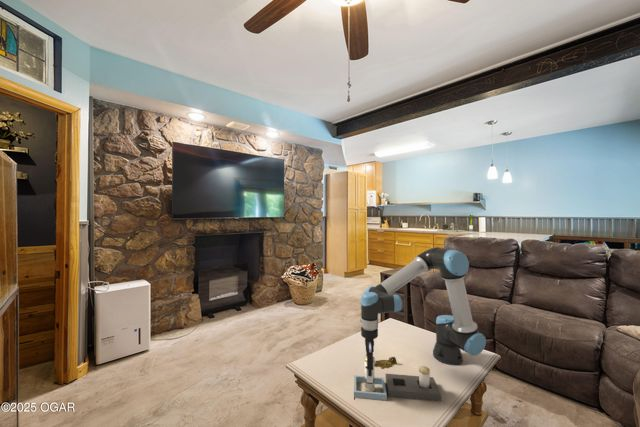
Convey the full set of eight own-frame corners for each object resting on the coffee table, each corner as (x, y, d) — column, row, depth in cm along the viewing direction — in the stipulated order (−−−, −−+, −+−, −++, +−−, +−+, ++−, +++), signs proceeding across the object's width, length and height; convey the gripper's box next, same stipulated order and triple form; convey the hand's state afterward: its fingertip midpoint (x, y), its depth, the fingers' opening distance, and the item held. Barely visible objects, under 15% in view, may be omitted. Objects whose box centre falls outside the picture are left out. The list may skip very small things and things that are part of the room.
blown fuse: (374, 385, 122) (374, 355, 123) (375, 392, 118) (374, 361, 118) (364, 385, 123) (364, 354, 123) (364, 391, 119) (364, 360, 119)
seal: (376, 376, 135) (401, 370, 139) (376, 367, 134) (402, 361, 139) (367, 364, 143) (391, 359, 148) (367, 356, 143) (391, 351, 148)
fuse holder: (433, 385, 125) (433, 377, 125) (441, 403, 113) (441, 394, 113) (385, 381, 128) (385, 373, 128) (388, 398, 116) (388, 389, 116)
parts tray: (383, 384, 125) (383, 377, 125) (386, 402, 114) (386, 394, 114) (354, 382, 127) (354, 375, 127) (353, 399, 116) (353, 391, 116)
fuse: (428, 388, 122) (428, 366, 122) (431, 395, 117) (430, 372, 117) (417, 387, 122) (417, 365, 122) (420, 394, 118) (420, 371, 118)
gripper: (360, 319, 130) (360, 366, 130) (361, 335, 112) (361, 390, 112) (376, 320, 129) (376, 368, 129) (379, 336, 111) (379, 392, 111)
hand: (369, 378), depth 121 cm, fingers closed on blown fuse, 4 cm apart
